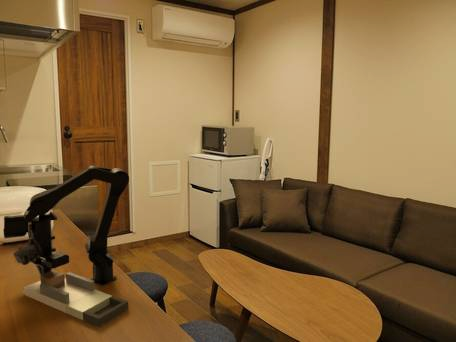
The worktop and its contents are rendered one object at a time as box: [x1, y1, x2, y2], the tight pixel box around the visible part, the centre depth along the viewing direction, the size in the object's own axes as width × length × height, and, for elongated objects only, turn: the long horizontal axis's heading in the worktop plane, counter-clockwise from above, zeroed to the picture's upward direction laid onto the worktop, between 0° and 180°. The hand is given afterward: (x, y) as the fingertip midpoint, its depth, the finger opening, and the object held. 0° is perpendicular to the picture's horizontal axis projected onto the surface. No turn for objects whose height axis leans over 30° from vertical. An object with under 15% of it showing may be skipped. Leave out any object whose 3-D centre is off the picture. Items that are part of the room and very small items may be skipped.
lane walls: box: [40, 271, 96, 304], centre depth 120 cm, size 12×10×3 cm
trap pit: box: [82, 295, 129, 328], centre depth 112 cm, size 6×11×2 cm, turn 150°
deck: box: [23, 278, 112, 321], centre depth 120 cm, size 28×11×2 cm, turn 60°
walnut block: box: [39, 269, 66, 289], centre depth 123 cm, size 5×5×4 cm
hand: (44, 280), depth 125 cm, fingers closed
